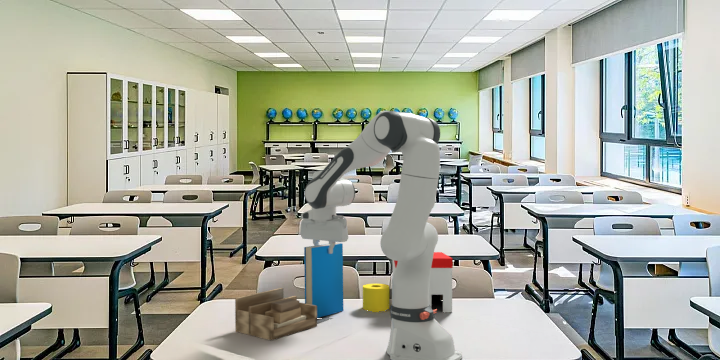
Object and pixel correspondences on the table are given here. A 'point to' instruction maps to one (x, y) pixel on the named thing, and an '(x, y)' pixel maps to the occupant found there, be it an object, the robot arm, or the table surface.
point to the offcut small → (284, 305)
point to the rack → (259, 325)
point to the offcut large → (290, 321)
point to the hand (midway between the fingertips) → (324, 252)
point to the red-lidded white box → (439, 279)
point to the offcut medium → (284, 315)
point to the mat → (322, 320)
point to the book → (324, 278)
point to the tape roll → (376, 297)
